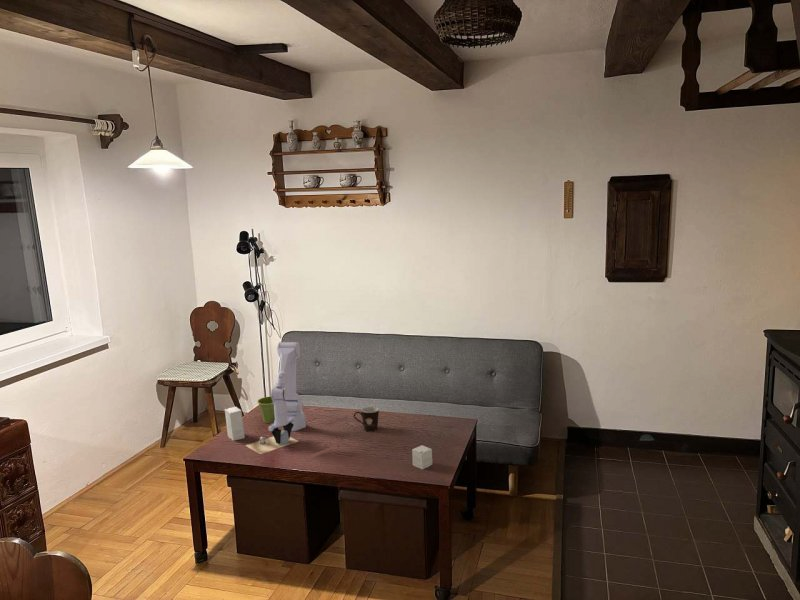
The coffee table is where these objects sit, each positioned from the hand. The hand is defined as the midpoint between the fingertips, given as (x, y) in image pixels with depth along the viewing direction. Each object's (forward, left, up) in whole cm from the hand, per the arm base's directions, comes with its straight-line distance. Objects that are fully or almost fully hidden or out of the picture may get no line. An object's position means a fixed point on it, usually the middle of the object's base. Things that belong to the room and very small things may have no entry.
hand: (282, 441), depth 295 cm
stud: (+7, -6, -1) cm, 9 cm away
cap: (0, 0, -1) cm, 1 cm away
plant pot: (-12, -32, -2) cm, 34 cm away
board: (+4, -3, -2) cm, 5 cm away
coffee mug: (-40, +13, -2) cm, 42 cm away
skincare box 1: (+12, -23, -2) cm, 26 cm away
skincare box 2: (-30, +62, -2) cm, 69 cm away
